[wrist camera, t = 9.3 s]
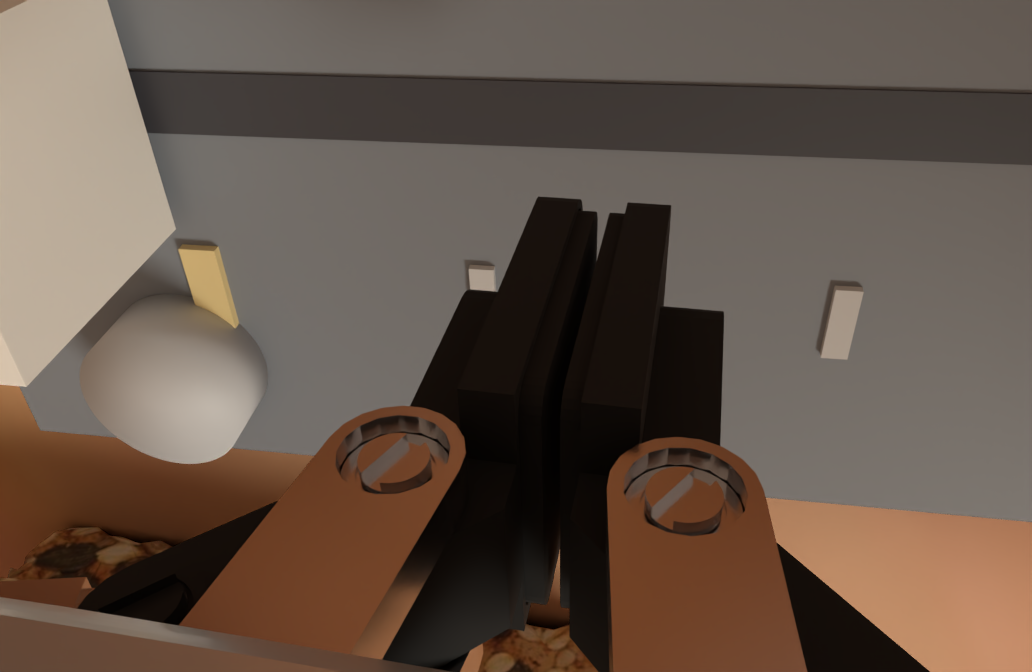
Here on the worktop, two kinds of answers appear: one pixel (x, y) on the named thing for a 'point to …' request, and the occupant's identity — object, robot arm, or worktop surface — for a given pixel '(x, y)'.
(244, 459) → the worktop surface
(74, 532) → the bread
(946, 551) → the worktop surface
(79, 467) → the worktop surface
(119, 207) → the fader knob
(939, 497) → the console
